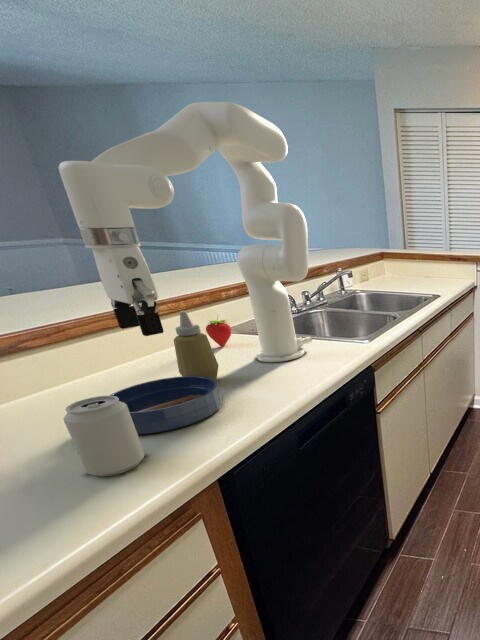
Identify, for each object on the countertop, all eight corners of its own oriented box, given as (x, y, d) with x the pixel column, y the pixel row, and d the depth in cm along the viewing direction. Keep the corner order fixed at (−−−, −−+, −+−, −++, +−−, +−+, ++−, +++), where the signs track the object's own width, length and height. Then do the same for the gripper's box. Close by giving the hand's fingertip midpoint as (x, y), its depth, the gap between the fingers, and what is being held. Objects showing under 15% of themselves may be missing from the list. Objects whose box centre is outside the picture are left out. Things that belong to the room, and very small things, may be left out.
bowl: (195, 389, 101) (189, 370, 100) (241, 407, 93) (235, 387, 91) (91, 421, 86) (82, 398, 84) (135, 446, 77) (125, 422, 75)
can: (143, 449, 76) (121, 389, 72) (149, 466, 71) (125, 402, 67) (86, 465, 71) (58, 401, 67) (88, 485, 66) (58, 417, 62)
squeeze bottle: (185, 391, 100) (162, 317, 94) (181, 381, 106) (159, 310, 99) (224, 383, 105) (206, 312, 99) (219, 374, 111) (201, 306, 104)
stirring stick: (198, 402, 95) (194, 394, 95) (204, 400, 93) (200, 391, 93) (124, 426, 84) (119, 417, 84) (129, 424, 82) (124, 415, 82)
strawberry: (221, 342, 137) (213, 312, 133) (240, 344, 135) (233, 314, 131) (205, 347, 132) (196, 316, 128) (224, 350, 130) (216, 318, 126)
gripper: (159, 239, 75) (186, 332, 81) (116, 235, 83) (144, 320, 89) (105, 241, 69) (139, 342, 75) (65, 237, 77) (98, 328, 83)
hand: (141, 330), depth 82 cm, fingers open, 9 cm apart
